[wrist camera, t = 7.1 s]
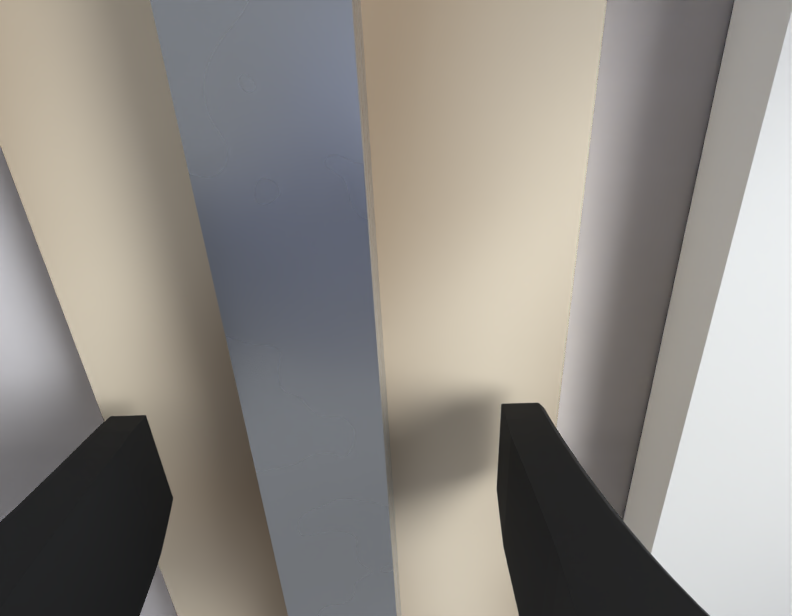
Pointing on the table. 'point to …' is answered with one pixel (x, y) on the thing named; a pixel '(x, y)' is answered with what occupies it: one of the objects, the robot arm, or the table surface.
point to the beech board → (397, 263)
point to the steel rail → (295, 277)
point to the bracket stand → (730, 347)
